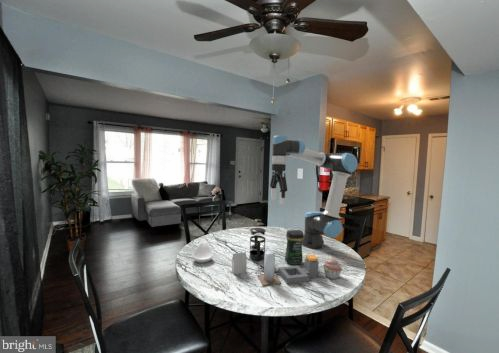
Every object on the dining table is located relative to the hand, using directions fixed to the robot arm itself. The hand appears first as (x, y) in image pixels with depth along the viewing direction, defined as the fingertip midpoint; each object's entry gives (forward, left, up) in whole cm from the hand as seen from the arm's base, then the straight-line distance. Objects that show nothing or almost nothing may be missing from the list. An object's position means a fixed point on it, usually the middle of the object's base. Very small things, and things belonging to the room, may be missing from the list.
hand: (277, 201), depth 130 cm
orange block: (-12, +19, -31) cm, 38 cm away
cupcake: (-22, +22, -35) cm, 47 cm away
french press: (+9, -7, -35) cm, 37 cm away
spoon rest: (+40, -15, -35) cm, 55 cm away
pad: (+11, +19, -35) cm, 41 cm away
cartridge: (+11, +19, -34) cm, 40 cm away
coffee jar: (-10, +3, -35) cm, 36 cm away
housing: (-5, +19, -35) cm, 40 cm away
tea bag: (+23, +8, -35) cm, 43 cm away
